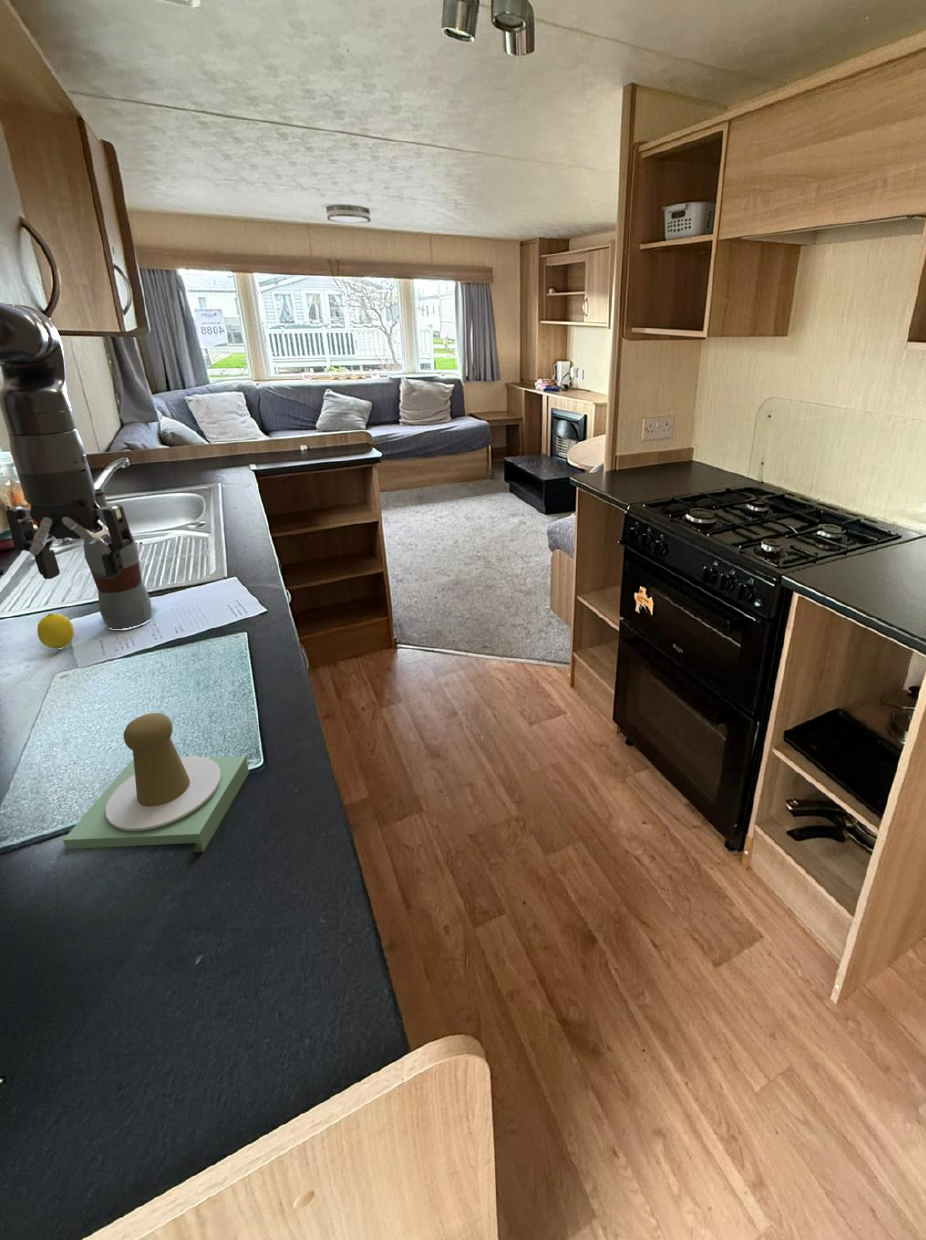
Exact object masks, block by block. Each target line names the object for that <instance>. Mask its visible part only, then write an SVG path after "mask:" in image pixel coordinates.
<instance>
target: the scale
mask: <svg viewBox="0 0 926 1240" xmlns="http://www.w3.org/2000/svg"><path fill="white" fill-rule="evenodd" d="M179 757H180V759H181V761H182V763H183V765H184V768H185V770H186V772H187V774H188V776H189V779H190V784H189V787H188V788H187V790H186V791H185V792H184V793H183V794H182V795H181V796H179V797H178V798H176V799H174V800H173V801H171V802H168V803H166V804H163V805H159V806H154V807H146V806H143V805H141V804H139V803H138V800H137V792H136V781H135V770H134V759H133V760H130V761H129V762H128V764H127V765H126V766H125V768H123V770H122V771H121V772H120V773H119V774H118V775H117V776H116V778H114V780H113V781H112V782H111V783H110V785H109V786H108V787H107V788H106V789H105V791H104V792H102V794H101V795H100V796H99V797H98V798H97V800H96V801H95V802H94V803H93V804H92V805H91V807H90V808H89V809H88V810H87V812H86V813H85V814H83V816H82V817H81V818H80V820H79V821H78V822H77V823H76V824H75V825H74V826H73V827H72V829H71V830H70V831H69V832H68V833H67V834H66V836H65V837H64V838H63V839H62V842H63V844H64V847H65V850H66V849H67V850H72V849H95V848H113V847H136V846H157V845H180V844H181V845H183V844H195V845H194V847H193V848H192V850H191V852H190V853H191V854H195V853H204V852H205V850H206V848H207V847H208V845H209V844H210V841H211V840H212V838H213V836H214V834H215V833H216V832H217V830H218V828H219V826H220V825H221V822H222V821H223V819H224V817H225V815H226V814H227V812H228V810H229V809H230V807H231V805H232V803H233V802H234V800H235V799H236V796H237V795H238V793H239V791H240V789H241V788H242V786H243V784H244V782H245V781H246V779H247V777H248V775H249V774H250V770H249V766H248V765H249V764H248V759H247V756H246V755H243V756H241V755H240V756H218V757H217V756H216V757H215V756H214V757H213V756H212V757H205V756H199V755H186V756H179Z"/></svg>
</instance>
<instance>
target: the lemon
mask: <svg viewBox="0 0 926 1240" xmlns="http://www.w3.org/2000/svg"><path fill="white" fill-rule="evenodd" d="M36 630H37V631H36V633H37V637H38V639H39V641H40V643H41V644H42V645H44V646H45V647H47V648H50V649H57V648H62V647H64V646H65V647H66V646H67V645H69V644H70V643H71V642H72V641H73V639H74V635H75V628H74V626H73V623H72V622H71V620H70V619H69V618H68V617H67V616H66V615H64V614H61V613H53V612H50V613H48V614H47V615H46V616H44V617H42V618H41V620H40V621H38V624H37V629H36ZM65 647H64V648H65Z"/></svg>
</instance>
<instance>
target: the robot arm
mask: <svg viewBox="0 0 926 1240" xmlns="http://www.w3.org/2000/svg"><path fill="white" fill-rule="evenodd" d="M63 348H64V347H63V343H62V340H61V337H60V335H59V332H58V330H57V328H56V326H55V324H54V323H53V322H52V321H51V319H50V318H48V316H47V315H45V314H44V313H43V312H41V311H40V310H38V309H36V308H34V307H31V306H28V305H23V304H14V303H13V304H12V303H11V304H10V303H4V302H0V370H1V375H2V381H3V384H2V386H1V388H0V412H1V416H2V418H3V422H4V425H5V429H6V432H7V437H8V441H9V449H10V455H11V458H12V461H13V464H14V468H15V471H16V474H17V478H18V482H19V484H20V488H21V491H22V494H23V497H24V501H25V502H26V503H27V504H29V505H30V507H29V506H28V505H27V504H21V505H18V506H15V507H12V508H10V509H7V510H6V511H5V516H6V519H7V523H8V528H9V531H10V535H11V539H12V543H13V547H14V549H15V550H16V551H18V552H22V551H26V552H28V553H30V554H31V555H32V556H33V557H34V560H35V564H36V566H37V570H38V573H39V574H40V575H41V576H42V577H43V579H45V580H52V579H55V578H56V577H58V576H59V575H60V574H61V573H60V567H59V564H58V561H57V556H56V554H55V550H54V549H52V546H53V545H54V543H55V542H56V540H63V539H67V538H68V539H73V540H80V539H82V540H83V541H84V540H85V541H86V542H87V543H89V544H93V545H94V546H95V547H96V548H98V549H99V550H100V551H101V552H102V553H103V555H101V557H102V560H103V564H104V568H105V572H106V575H107V578H116V577H117V576H119V575H120V574H121V572H122V571H123V569H124V566H123V562H122V558H121V554H120V550H121V549H123V548H125V547H126V546H128V545H130V544H132V543H133V539H132V536H133V535H132V536H131V534H132V532H131V530H130V527H129V523H128V519H127V516H126V514H125V513H126V512H125V511H124V507H123V506H122V505H121V504H120V503H119V504H118V503H117V504H114V505H112V506H111V505H110V506H108V507H99V506H98V505H97V503H96V502H95V489H96V488H95V485H94V481H93V477H92V472H91V468H90V466H89V461H88V457H87V453H86V449H85V446H84V443H83V441H82V439H81V437H80V433H79V431H78V429H77V424H76V419H75V417H74V412H73V409H72V405H71V402H70V400H69V397H68V392H67V374H66V362H65V355H64V349H63ZM100 517H101V518H102V521H103V522H106V525H107V527H106V526H105V525H103V524H102V523H101V522H100V521H99V518H100ZM33 521H34V522H35V523H37V524H38V525H39V526H38V528H37V529H36V530H35V527H34V522H33ZM93 529H94V530H95V531H96V532H97V533H95V534H94V533H91V532H92V531H93ZM35 531H36V532H35Z"/></svg>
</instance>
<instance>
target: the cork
mask: <svg viewBox="0 0 926 1240" xmlns="http://www.w3.org/2000/svg"><path fill="white" fill-rule="evenodd" d="M173 726H174V725H173V723H172V720H171V718H170V717H169V716H168V715H166V714H165V713H161V712H150V713H146V714H143V715H140V716H138V717H136V718H134V719H133V720H131V721H130V722H129V723H128V724H127V725H126V726H125V729H124V731H123V741H124V744H125V745H126V747H127V748H128V749H130V750H131V751H132V758H133V760H134V770H135V781H136V792H137V800H138V803H139V804H141V805H143V806H146V807H154V806H159V805H163V804H166V803H168V802H171V801H173V800H174V799H176V798H178V797H179V796H181V795H182V794H183V793H184V792H185V791H186V790H187V788H188V787H189V784H190V779H189V776H188V774H187V772H186V770H185V768H184V765H183V763H182V761H181V759H180V757H181V756H180V754H179V753H178V751H177V748H176V746H175V744H174V742H173V740H172V738H171V736H172V734H173V730H174V727H173Z"/></svg>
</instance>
